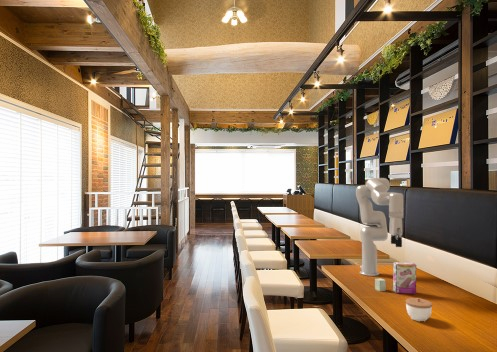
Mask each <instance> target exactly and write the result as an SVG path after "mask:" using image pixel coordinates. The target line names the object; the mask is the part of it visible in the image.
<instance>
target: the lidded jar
mask: <svg viewBox="0 0 497 352" xmlns="http://www.w3.org/2000/svg"><path fill="white" fill-rule="evenodd" d="M405 308H406V312H407V314H408V316H409V317H410V319H411V320H412V321H416V322H420V321H424V322H427V320H428V319H429V318H430V317H431V315H432V309H433V303H432V302H431V301H429V300H427V299H424V298H420V297H410V298H409V297H408V298H406V299H405Z"/></svg>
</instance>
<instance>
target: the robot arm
mask: <svg viewBox="0 0 497 352" xmlns="http://www.w3.org/2000/svg"><path fill="white" fill-rule="evenodd" d="M390 186H391V184H390V180H388V179H387V178H385V177H372V178H369V179H367V180H366V183H365V184H361V185H358V186H357V187H356V189H355V197H356V200H357V202H358V206H359V211H360V213H359V214H360V220H361V223H362V224H363V225H366V226H364V227H362V228H361V229H360V238H361V239H360V240H361V263H362V264H361V265H360V266H359V268H360V269H361V270H360V271H359V274H360V275H363V276H367V277H368V276H369V277H377V276H380V272H379V271H378V247H377V245H376V244H375V242H384V241H387V240H388V237H389V234H390V244H391V245H395V248H402V247H403V219H404V193H401V192H400V193H399V192H389V190H390ZM368 198H371V200H372V202H374V204H375V205H378V206H388V218H389V227H388V226H387V217H386V215H385V212H383V211H381V210H374V209H373V208H374V207H373V203H372V202H371V200H370V199H368ZM374 225H375V226H374ZM388 228H389V231H388ZM388 232H389V233H388Z"/></svg>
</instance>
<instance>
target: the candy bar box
mask: <svg viewBox="0 0 497 352" xmlns="http://www.w3.org/2000/svg"><path fill="white" fill-rule="evenodd" d="M392 265H393V269H392V272H393V274H392V277H393V278H392V279H393V281H392V282H393V283H392V285H393V286H392V291H393V292H394V293H395V294H403V295H404V294H405V295H408V294H409V295H416V294H417V264H415V263H414V262H397V261H395V262H393V264H392Z"/></svg>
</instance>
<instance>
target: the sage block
mask: <svg viewBox="0 0 497 352" xmlns="http://www.w3.org/2000/svg"><path fill="white" fill-rule="evenodd" d="M386 285H387V284H386V280H385V279H383V278H374V290H376V291H379V292H386Z"/></svg>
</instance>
